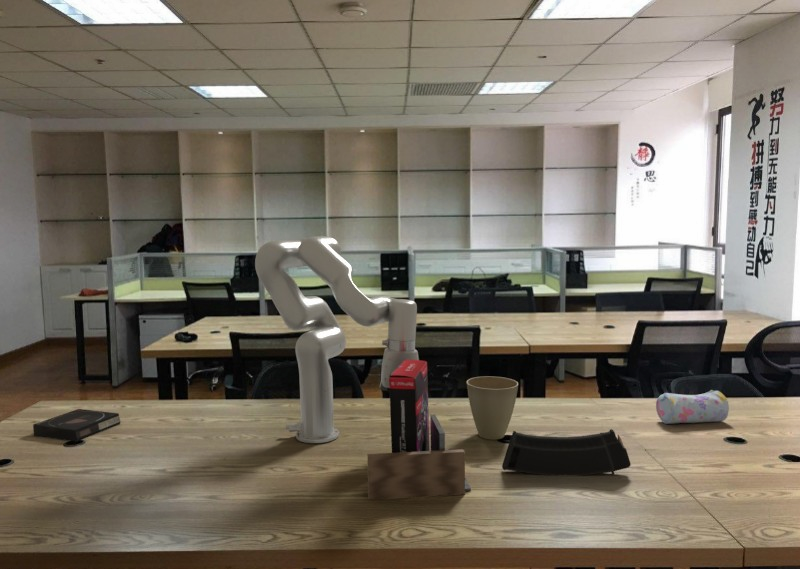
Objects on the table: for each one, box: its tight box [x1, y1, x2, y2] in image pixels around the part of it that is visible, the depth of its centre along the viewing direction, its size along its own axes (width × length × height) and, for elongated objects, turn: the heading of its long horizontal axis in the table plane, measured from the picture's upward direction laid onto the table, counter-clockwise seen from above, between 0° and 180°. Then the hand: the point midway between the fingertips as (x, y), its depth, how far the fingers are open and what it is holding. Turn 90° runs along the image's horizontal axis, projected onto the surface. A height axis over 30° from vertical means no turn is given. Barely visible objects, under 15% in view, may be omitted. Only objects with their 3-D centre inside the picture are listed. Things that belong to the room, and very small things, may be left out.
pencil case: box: [655, 389, 730, 425], centre depth 185 cm, size 21×9×10 cm, turn 100°
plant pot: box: [466, 375, 519, 441], centre depth 174 cm, size 15×15×16 cm
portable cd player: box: [32, 408, 121, 442], centre depth 184 cm, size 16×17×4 cm
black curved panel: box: [501, 429, 632, 476], centre depth 147 cm, size 17×3×30 cm
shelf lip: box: [367, 448, 466, 501], centre depth 135 cm, size 22×2×10 cm, turn 96°
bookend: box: [429, 414, 472, 492], centre depth 144 cm, size 7×14×14 cm, turn 6°
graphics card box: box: [389, 359, 431, 453], centre depth 146 cm, size 17×7×27 cm, turn 168°
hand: (398, 410), depth 164 cm, fingers closed
